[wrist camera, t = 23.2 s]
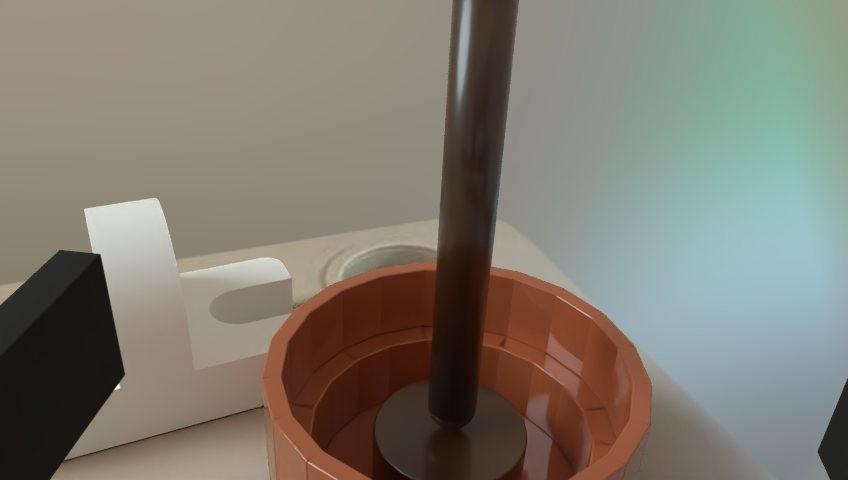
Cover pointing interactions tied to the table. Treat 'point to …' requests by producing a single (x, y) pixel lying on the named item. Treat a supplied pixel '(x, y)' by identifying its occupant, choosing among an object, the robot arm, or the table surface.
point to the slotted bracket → (179, 329)
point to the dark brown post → (462, 278)
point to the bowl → (410, 362)
